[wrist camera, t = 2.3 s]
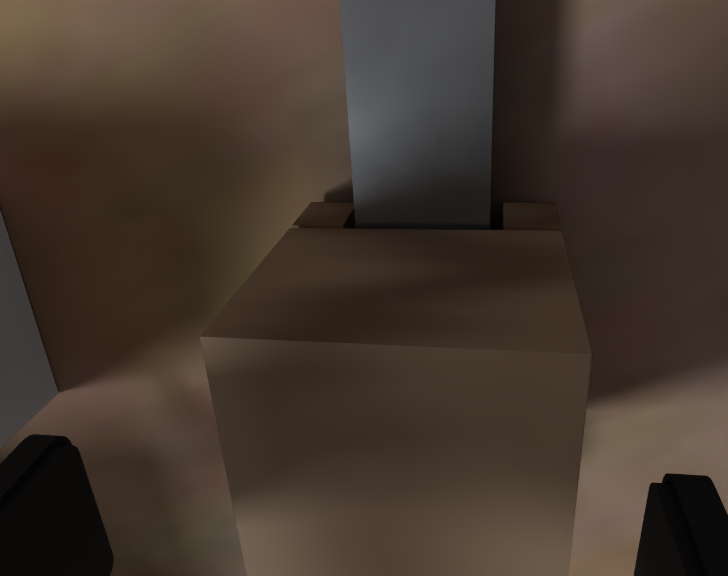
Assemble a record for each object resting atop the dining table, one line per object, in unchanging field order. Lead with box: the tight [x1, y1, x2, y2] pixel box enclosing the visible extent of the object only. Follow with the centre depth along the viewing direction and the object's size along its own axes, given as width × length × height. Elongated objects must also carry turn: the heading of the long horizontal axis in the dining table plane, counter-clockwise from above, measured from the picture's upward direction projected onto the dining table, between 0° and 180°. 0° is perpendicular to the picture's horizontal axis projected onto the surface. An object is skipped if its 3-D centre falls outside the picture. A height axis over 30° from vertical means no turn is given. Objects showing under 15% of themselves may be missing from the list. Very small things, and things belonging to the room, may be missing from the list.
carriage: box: [200, 202, 592, 576], centre depth 14 cm, size 6×6×7 cm
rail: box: [340, 0, 496, 230], centre depth 14 cm, size 3×21×4 cm, turn 3°
